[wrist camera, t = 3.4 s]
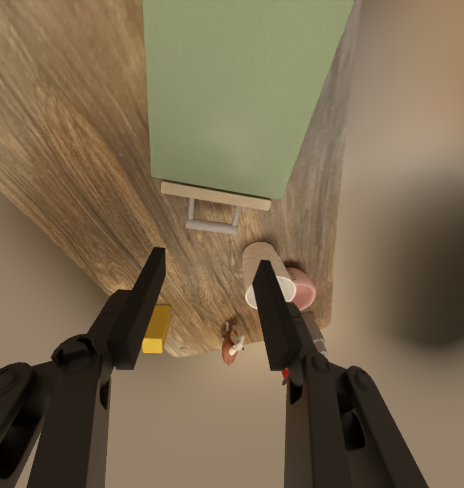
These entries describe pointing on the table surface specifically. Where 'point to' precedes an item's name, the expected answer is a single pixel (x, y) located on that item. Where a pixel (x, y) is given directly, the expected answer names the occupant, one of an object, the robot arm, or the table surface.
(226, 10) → the cabinet
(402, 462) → the robot arm
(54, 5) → the table surface
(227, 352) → the bull figurine
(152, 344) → the sponge
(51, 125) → the table surface
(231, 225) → the drawer
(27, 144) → the table surface
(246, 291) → the white cup
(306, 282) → the mug
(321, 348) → the power adapter
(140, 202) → the table surface
